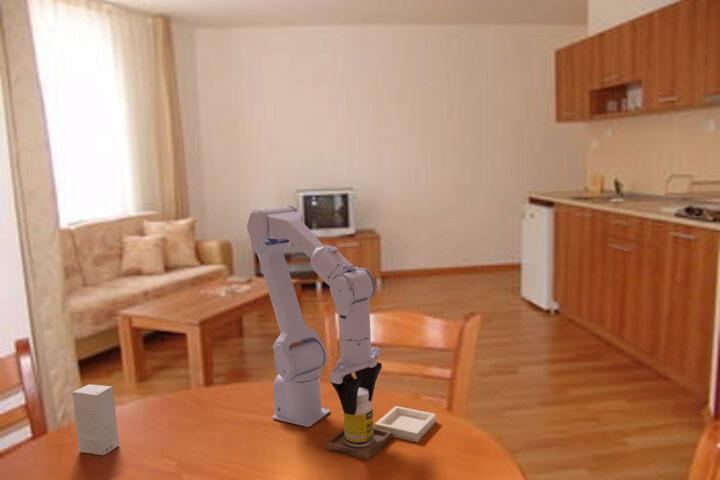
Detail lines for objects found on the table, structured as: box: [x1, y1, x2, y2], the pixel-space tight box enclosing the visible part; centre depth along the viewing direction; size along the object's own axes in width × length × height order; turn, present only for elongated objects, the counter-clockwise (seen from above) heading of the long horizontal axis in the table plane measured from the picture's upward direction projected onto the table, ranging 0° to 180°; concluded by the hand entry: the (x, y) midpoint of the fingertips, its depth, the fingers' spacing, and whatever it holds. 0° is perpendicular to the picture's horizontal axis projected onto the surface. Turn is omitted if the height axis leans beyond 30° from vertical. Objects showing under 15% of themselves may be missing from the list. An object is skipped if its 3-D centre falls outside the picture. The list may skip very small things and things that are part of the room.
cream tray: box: [374, 405, 437, 443], centre depth 111 cm, size 9×9×2 cm
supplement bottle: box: [343, 387, 374, 447], centre depth 105 cm, size 5×5×10 cm
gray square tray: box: [325, 427, 393, 461], centre depth 106 cm, size 9×9×1 cm
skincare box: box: [72, 383, 120, 456], centre depth 107 cm, size 6×4×12 cm
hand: (358, 407), depth 105 cm, fingers closed on supplement bottle, 5 cm apart
